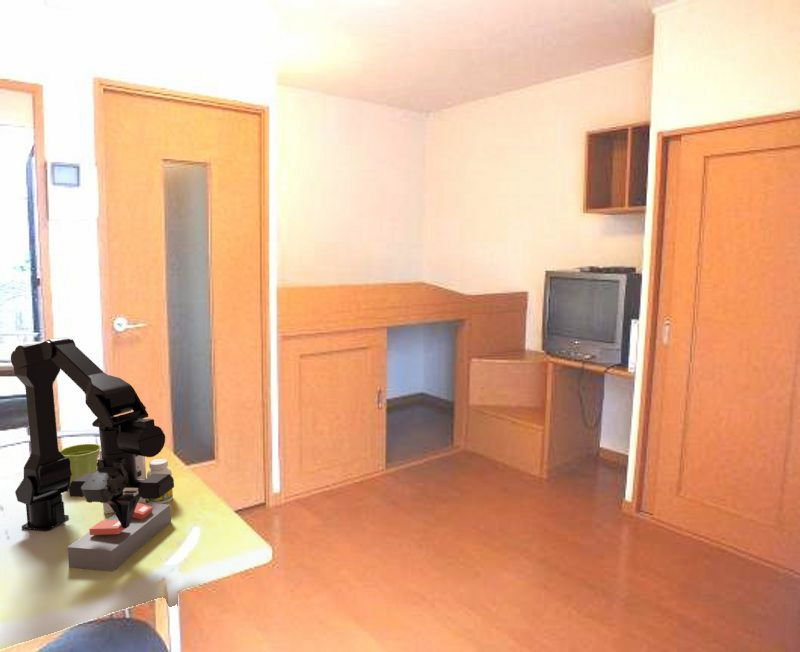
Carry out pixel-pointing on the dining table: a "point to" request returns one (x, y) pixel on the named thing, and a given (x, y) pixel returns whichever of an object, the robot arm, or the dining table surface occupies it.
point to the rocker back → (142, 511)
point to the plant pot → (82, 459)
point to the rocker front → (107, 527)
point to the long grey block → (118, 541)
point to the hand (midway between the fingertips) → (126, 527)
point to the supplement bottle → (160, 468)
